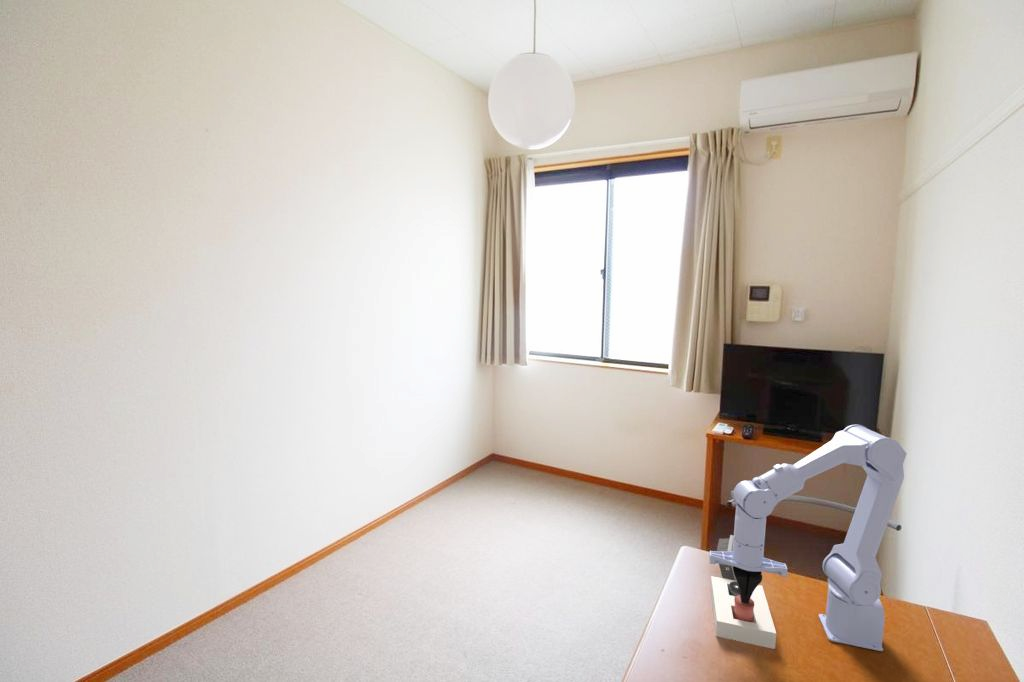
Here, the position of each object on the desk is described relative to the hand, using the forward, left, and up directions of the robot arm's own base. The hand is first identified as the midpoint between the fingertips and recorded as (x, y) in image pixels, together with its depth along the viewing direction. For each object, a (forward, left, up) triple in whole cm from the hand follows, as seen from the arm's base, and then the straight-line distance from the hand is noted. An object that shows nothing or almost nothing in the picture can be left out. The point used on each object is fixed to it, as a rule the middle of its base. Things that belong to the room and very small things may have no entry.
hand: (744, 600), depth 101 cm
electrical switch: (0, -19, -7) cm, 20 cm away
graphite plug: (0, -8, -6) cm, 10 cm away
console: (0, -4, -7) cm, 8 cm away
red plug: (0, 0, -4) cm, 4 cm away
